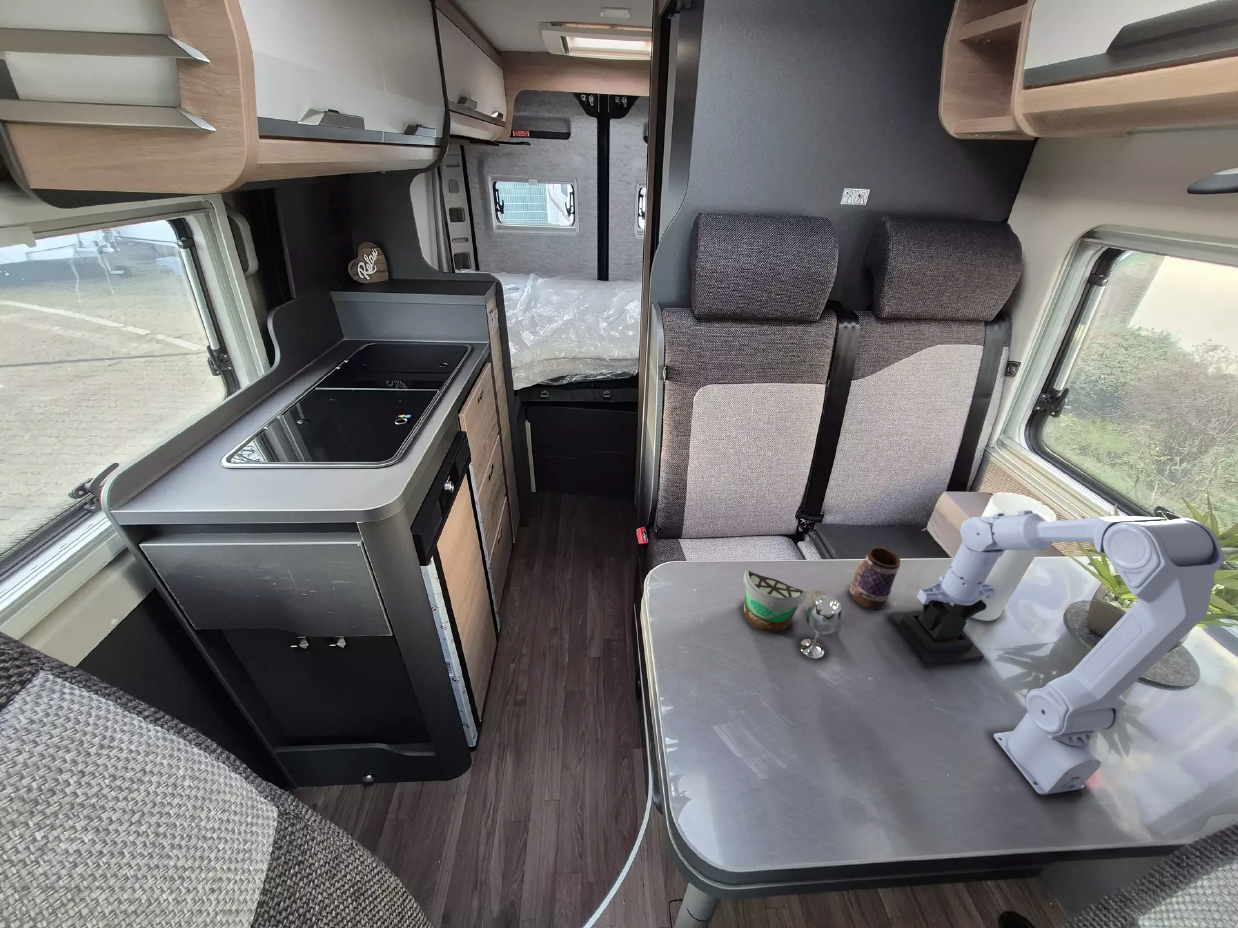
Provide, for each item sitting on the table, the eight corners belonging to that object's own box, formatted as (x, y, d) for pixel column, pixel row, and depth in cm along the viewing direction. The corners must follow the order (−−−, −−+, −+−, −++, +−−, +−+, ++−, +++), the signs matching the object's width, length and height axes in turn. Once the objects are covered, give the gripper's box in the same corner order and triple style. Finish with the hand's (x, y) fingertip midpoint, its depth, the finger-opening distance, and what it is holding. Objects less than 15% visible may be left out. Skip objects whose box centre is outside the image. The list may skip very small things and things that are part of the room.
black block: (957, 638, 101) (967, 622, 99) (933, 641, 100) (942, 624, 98) (940, 618, 106) (948, 601, 103) (916, 620, 105) (925, 603, 102)
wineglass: (807, 664, 97) (823, 618, 91) (790, 639, 102) (805, 594, 95) (833, 658, 98) (851, 613, 92) (816, 634, 103) (832, 589, 97)
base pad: (982, 659, 100) (988, 649, 98) (926, 665, 98) (931, 655, 97) (940, 611, 110) (945, 602, 109) (888, 616, 108) (893, 606, 107)
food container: (728, 621, 105) (737, 584, 100) (737, 601, 109) (746, 565, 104) (790, 646, 100) (803, 609, 95) (797, 625, 105) (809, 588, 100)
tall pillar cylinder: (940, 578, 119) (985, 486, 106) (993, 592, 116) (1047, 499, 103) (948, 611, 110) (998, 515, 97) (1005, 626, 107) (1065, 530, 94)
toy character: (816, 611, 111) (816, 584, 110) (840, 627, 103) (840, 599, 103) (799, 614, 110) (799, 587, 109) (822, 630, 102) (822, 601, 102)
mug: (868, 582, 116) (885, 540, 110) (893, 605, 111) (912, 562, 105) (831, 593, 113) (847, 551, 107) (855, 617, 107) (873, 574, 101)
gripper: (986, 555, 100) (958, 606, 107) (918, 560, 97) (894, 611, 104) (1015, 581, 94) (984, 633, 101) (943, 587, 91) (916, 640, 99)
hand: (940, 624), depth 102 cm, fingers closed on black block, 5 cm apart
